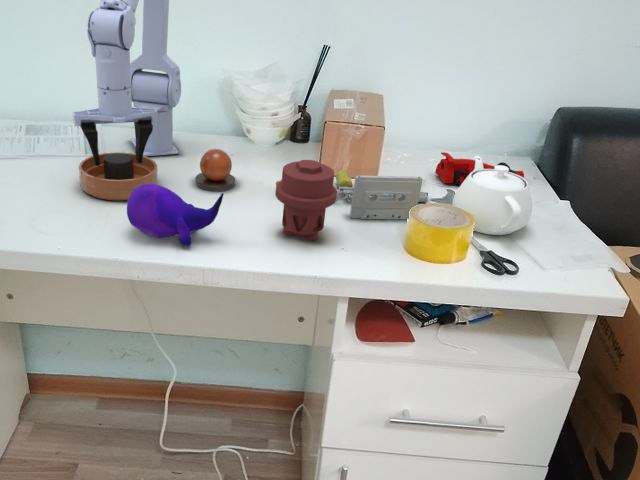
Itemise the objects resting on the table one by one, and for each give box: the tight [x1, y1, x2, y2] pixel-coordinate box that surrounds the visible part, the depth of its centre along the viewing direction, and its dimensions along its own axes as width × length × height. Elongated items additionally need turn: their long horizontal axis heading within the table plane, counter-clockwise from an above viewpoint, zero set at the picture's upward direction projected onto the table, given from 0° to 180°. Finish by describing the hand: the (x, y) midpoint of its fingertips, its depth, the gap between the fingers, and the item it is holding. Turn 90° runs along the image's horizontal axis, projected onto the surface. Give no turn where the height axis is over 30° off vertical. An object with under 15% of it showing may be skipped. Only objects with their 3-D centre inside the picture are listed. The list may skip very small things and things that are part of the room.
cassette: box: [349, 175, 424, 220], centre depth 127 cm, size 12×2×8 cm, turn 96°
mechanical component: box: [275, 159, 338, 242], centre depth 118 cm, size 12×10×10 cm
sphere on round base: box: [194, 148, 236, 192], centre depth 136 cm, size 8×8×7 cm
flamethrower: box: [275, 169, 429, 203], centre depth 137 cm, size 29×3×10 cm
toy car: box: [434, 151, 525, 187], centre depth 146 cm, size 6×18×5 cm, turn 99°
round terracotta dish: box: [78, 151, 159, 202], centre depth 132 cm, size 14×14×4 cm
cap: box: [103, 152, 134, 180], centre depth 132 cm, size 5×5×5 cm
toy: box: [126, 184, 225, 247], centre depth 116 cm, size 9×10×15 cm
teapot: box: [451, 155, 533, 236], centre depth 127 cm, size 22×14×11 cm, turn 5°
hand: (118, 162), depth 131 cm, fingers open, 7 cm apart
